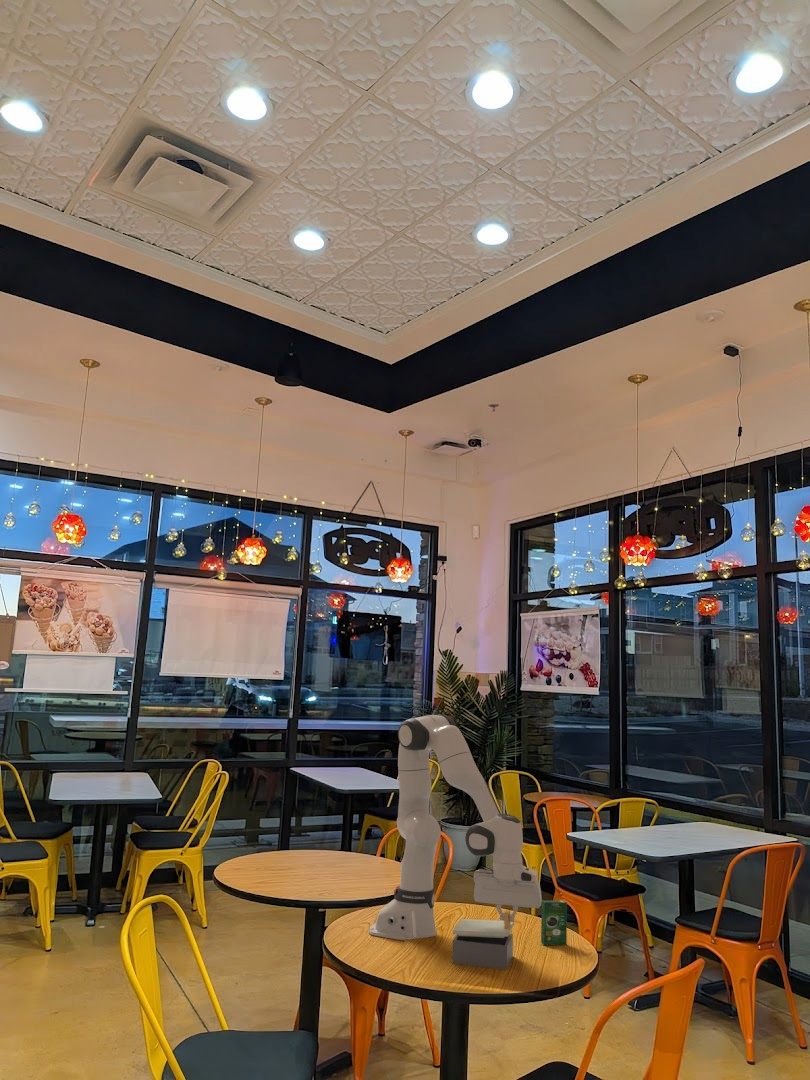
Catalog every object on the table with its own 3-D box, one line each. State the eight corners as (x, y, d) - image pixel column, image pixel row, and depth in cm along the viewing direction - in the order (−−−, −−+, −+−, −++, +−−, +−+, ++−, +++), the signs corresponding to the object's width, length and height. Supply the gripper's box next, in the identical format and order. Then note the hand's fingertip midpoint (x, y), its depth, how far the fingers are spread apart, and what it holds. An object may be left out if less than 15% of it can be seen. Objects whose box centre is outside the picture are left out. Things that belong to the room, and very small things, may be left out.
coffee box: (564, 942, 251) (563, 899, 254) (567, 945, 249) (567, 901, 251) (540, 943, 250) (540, 899, 252) (544, 946, 247) (543, 902, 250)
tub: (452, 966, 225) (452, 940, 227) (460, 953, 238) (461, 928, 239) (507, 972, 221) (507, 946, 223) (512, 958, 234) (512, 933, 235)
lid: (452, 937, 227) (452, 915, 228) (461, 925, 239) (460, 905, 241) (508, 939, 223) (507, 917, 224) (513, 927, 236) (512, 907, 237)
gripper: (472, 870, 233) (470, 919, 230) (540, 876, 228) (540, 927, 225) (475, 866, 239) (474, 914, 236) (542, 872, 234) (542, 921, 231)
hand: (507, 920), depth 230 cm, fingers closed on lid
